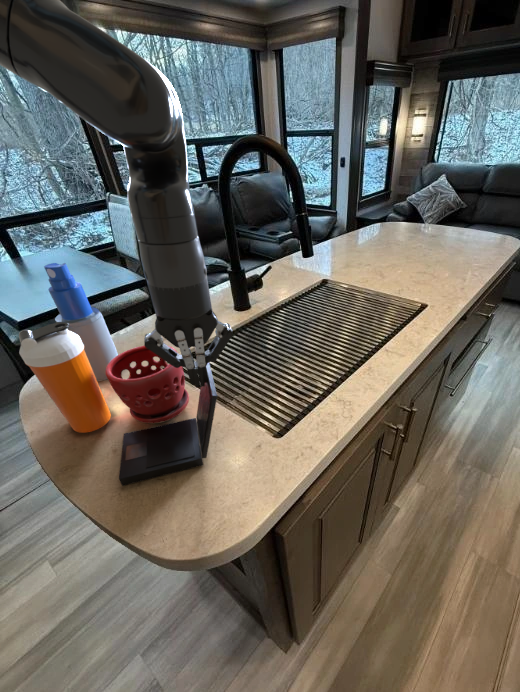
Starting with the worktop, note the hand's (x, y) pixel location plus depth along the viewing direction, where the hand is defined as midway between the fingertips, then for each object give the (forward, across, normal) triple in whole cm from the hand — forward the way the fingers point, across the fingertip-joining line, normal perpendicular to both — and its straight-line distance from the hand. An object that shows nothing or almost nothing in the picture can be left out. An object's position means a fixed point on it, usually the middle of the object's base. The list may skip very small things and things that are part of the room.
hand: (200, 384), depth 54 cm
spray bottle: (+14, +22, -33) cm, 42 cm away
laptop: (+13, +9, 0) cm, 16 cm away
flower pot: (+13, +9, -13) cm, 21 cm away
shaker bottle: (+14, +22, -14) cm, 29 cm away
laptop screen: (+5, 0, 0) cm, 5 cm away
